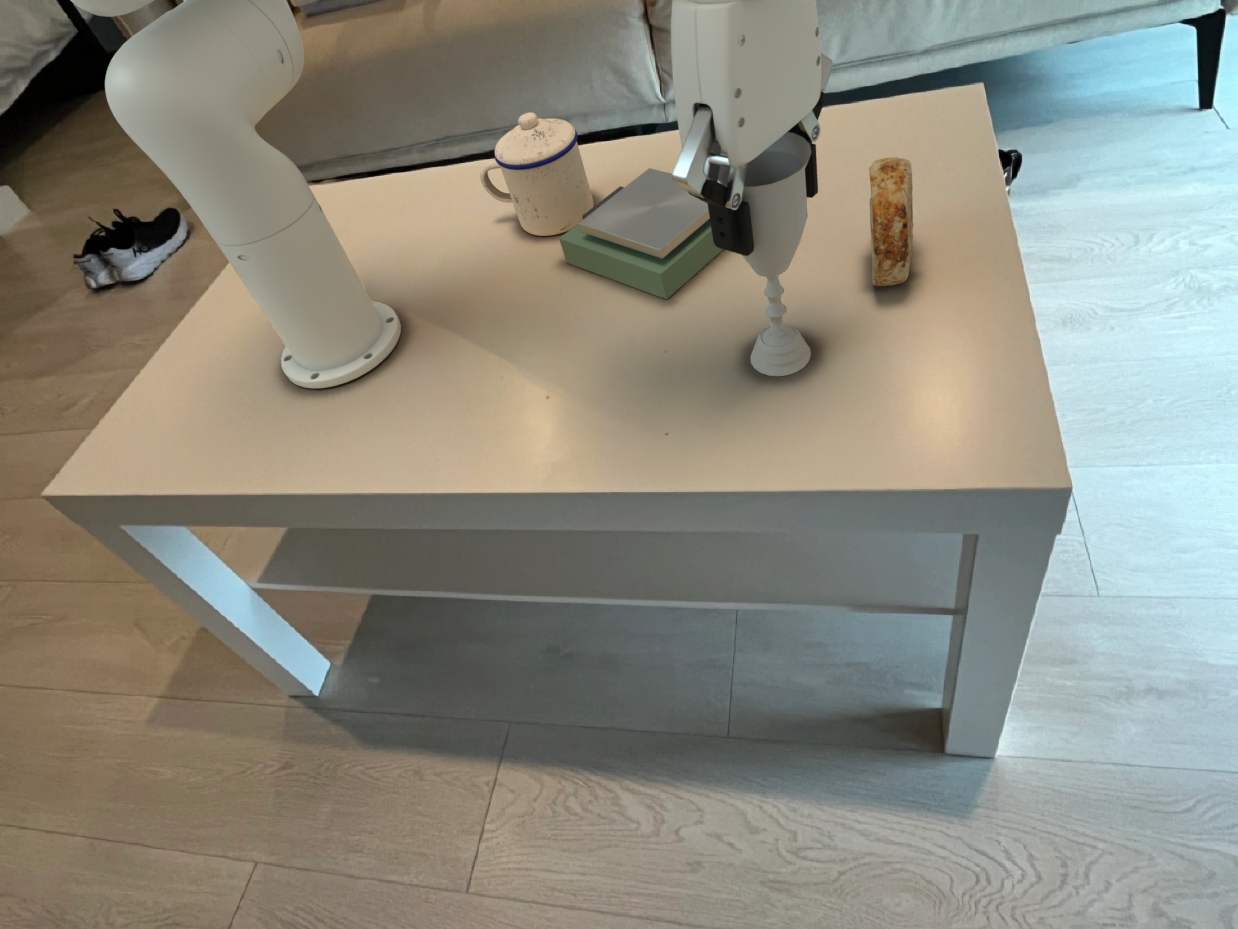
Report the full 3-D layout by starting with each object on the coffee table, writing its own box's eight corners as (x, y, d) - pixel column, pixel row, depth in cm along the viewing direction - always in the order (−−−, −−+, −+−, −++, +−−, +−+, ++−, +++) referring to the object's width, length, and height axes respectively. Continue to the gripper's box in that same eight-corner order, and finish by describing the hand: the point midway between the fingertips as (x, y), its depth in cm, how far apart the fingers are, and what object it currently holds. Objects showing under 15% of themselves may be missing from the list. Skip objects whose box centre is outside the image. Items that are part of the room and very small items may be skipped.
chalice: (819, 384, 66) (808, 181, 53) (735, 386, 68) (704, 191, 55) (823, 325, 70) (813, 125, 57) (744, 329, 72) (717, 136, 59)
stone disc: (912, 306, 69) (917, 201, 62) (866, 307, 70) (866, 205, 63) (911, 235, 76) (916, 133, 69) (869, 237, 77) (870, 137, 70)
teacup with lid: (603, 189, 94) (577, 89, 86) (587, 234, 88) (557, 132, 80) (507, 199, 97) (474, 104, 89) (486, 244, 92) (447, 146, 83)
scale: (566, 262, 86) (557, 233, 83) (646, 198, 91) (640, 168, 88) (666, 299, 78) (659, 268, 75) (748, 227, 83) (745, 195, 80)
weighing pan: (580, 231, 82) (577, 223, 81) (651, 176, 86) (649, 167, 85) (662, 259, 75) (660, 250, 75) (734, 197, 80) (733, 188, 79)
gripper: (774, -108, 52) (792, 152, 65) (591, 9, 45) (651, 273, 58) (880, -109, 48) (877, 169, 61) (695, 20, 41) (735, 302, 54)
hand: (766, 218), depth 59 cm, fingers closed on chalice, 7 cm apart
